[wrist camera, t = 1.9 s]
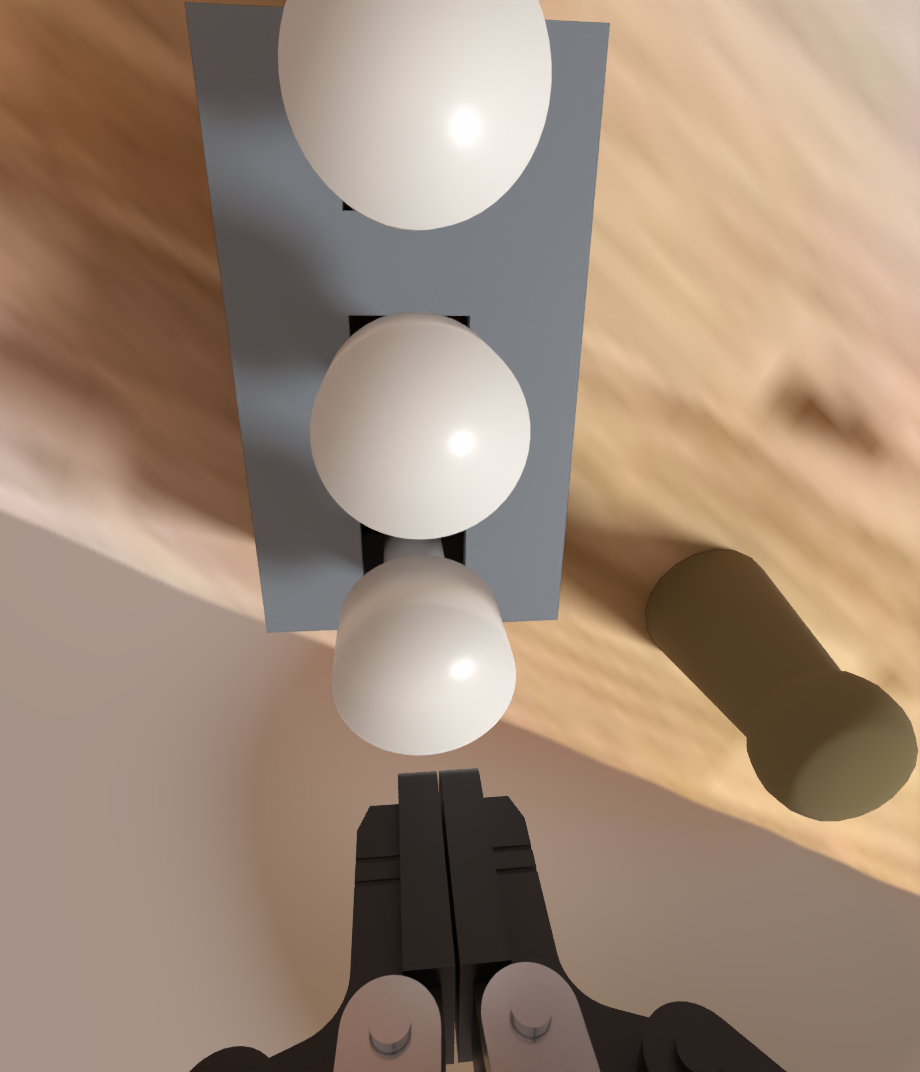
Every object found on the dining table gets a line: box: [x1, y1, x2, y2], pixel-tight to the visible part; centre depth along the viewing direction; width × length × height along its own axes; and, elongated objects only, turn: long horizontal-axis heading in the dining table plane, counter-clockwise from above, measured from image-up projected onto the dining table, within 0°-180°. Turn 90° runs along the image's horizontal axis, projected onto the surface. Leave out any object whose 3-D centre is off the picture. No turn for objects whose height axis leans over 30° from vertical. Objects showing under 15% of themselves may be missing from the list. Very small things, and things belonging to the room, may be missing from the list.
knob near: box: [278, 0, 552, 231], centre depth 14 cm, size 4×4×8 cm
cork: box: [646, 550, 918, 821], centre depth 26 cm, size 6×6×11 cm
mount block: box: [185, 2, 610, 633], centre depth 22 cm, size 17×10×6 cm, turn 179°
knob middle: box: [310, 311, 530, 539], centre depth 17 cm, size 4×4×8 cm
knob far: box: [331, 534, 516, 755], centre depth 19 cm, size 4×4×8 cm
